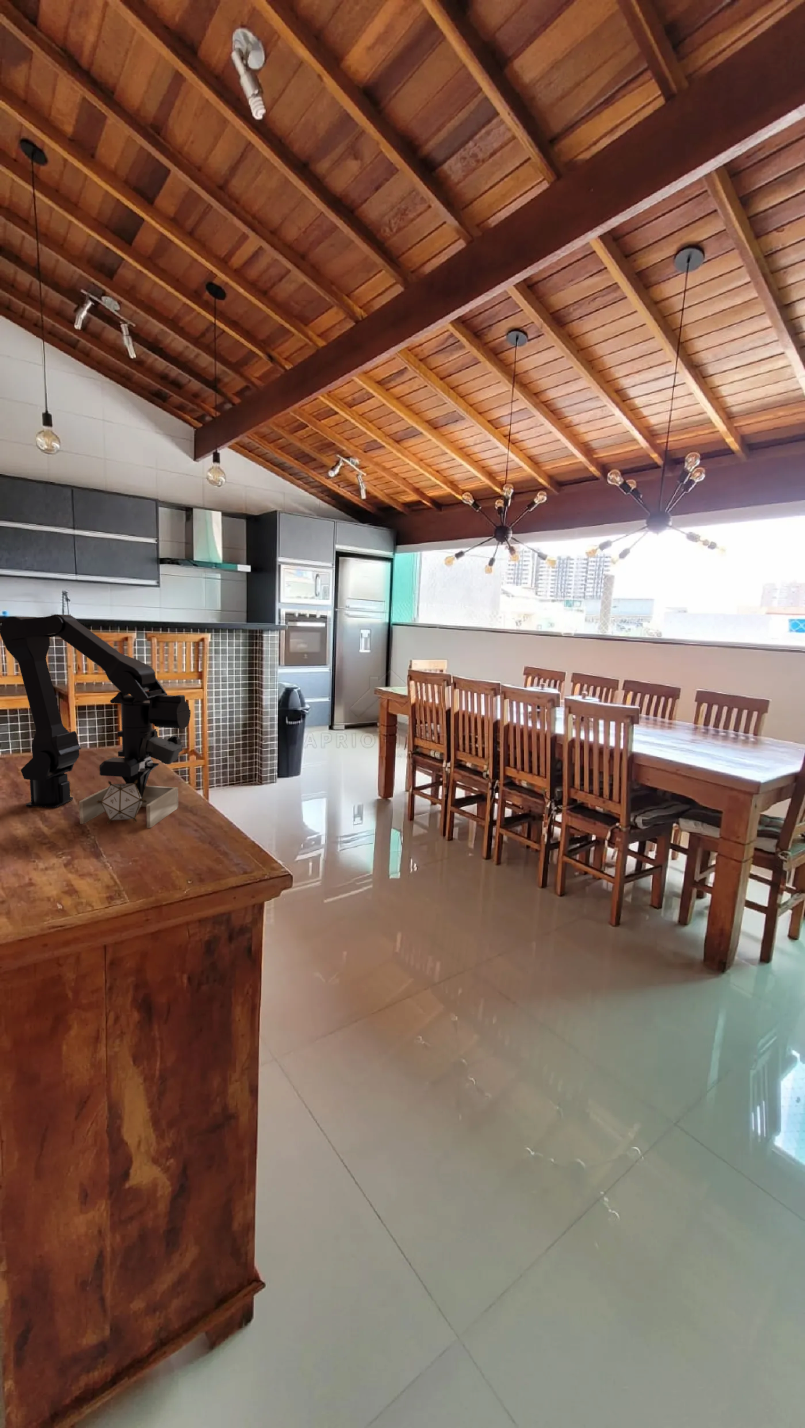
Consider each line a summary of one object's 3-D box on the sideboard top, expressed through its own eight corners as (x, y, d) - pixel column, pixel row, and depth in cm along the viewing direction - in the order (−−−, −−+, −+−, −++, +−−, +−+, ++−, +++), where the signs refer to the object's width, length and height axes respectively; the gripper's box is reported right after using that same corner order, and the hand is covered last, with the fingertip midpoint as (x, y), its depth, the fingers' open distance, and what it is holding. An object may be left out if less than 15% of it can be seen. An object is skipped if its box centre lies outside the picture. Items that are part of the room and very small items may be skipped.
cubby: (79, 823, 113) (78, 801, 112) (114, 804, 125) (113, 783, 125) (150, 827, 112) (149, 805, 112) (178, 807, 125) (177, 787, 124)
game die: (126, 841, 115) (121, 812, 108) (91, 822, 116) (83, 792, 109) (157, 809, 121) (154, 780, 114) (123, 791, 122) (118, 761, 115)
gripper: (154, 736, 110) (155, 815, 112) (193, 720, 128) (194, 788, 131) (96, 733, 110) (99, 812, 113) (144, 717, 129) (145, 786, 131)
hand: (138, 798), depth 122 cm, fingers closed
